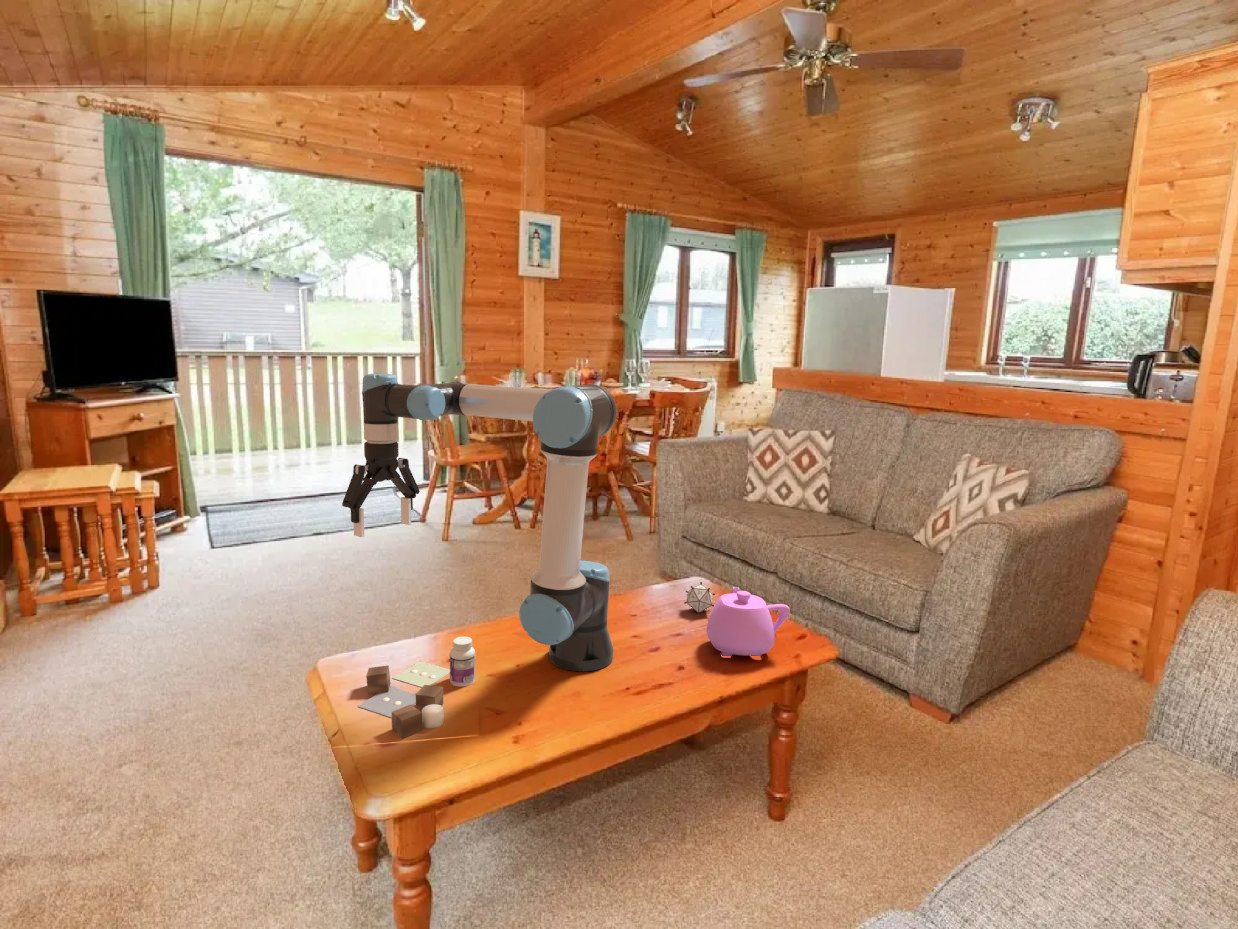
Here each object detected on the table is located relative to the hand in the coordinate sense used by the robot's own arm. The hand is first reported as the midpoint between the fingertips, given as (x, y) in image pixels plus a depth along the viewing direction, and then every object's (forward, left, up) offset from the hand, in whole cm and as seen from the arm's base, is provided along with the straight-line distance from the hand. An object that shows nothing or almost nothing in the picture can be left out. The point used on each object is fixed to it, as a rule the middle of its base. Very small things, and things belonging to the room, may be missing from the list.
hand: (383, 529), depth 163 cm
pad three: (-20, +10, -27) cm, 36 cm away
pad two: (-22, +22, -27) cm, 42 cm away
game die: (-62, -56, -28) cm, 88 cm away
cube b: (-30, +28, -26) cm, 48 cm away
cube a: (-30, +20, -28) cm, 46 cm away
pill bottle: (-29, +8, -28) cm, 41 cm away
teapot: (-79, -40, -28) cm, 93 cm away
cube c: (-16, +20, -27) cm, 37 cm away
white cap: (-34, +24, -28) cm, 50 cm away
